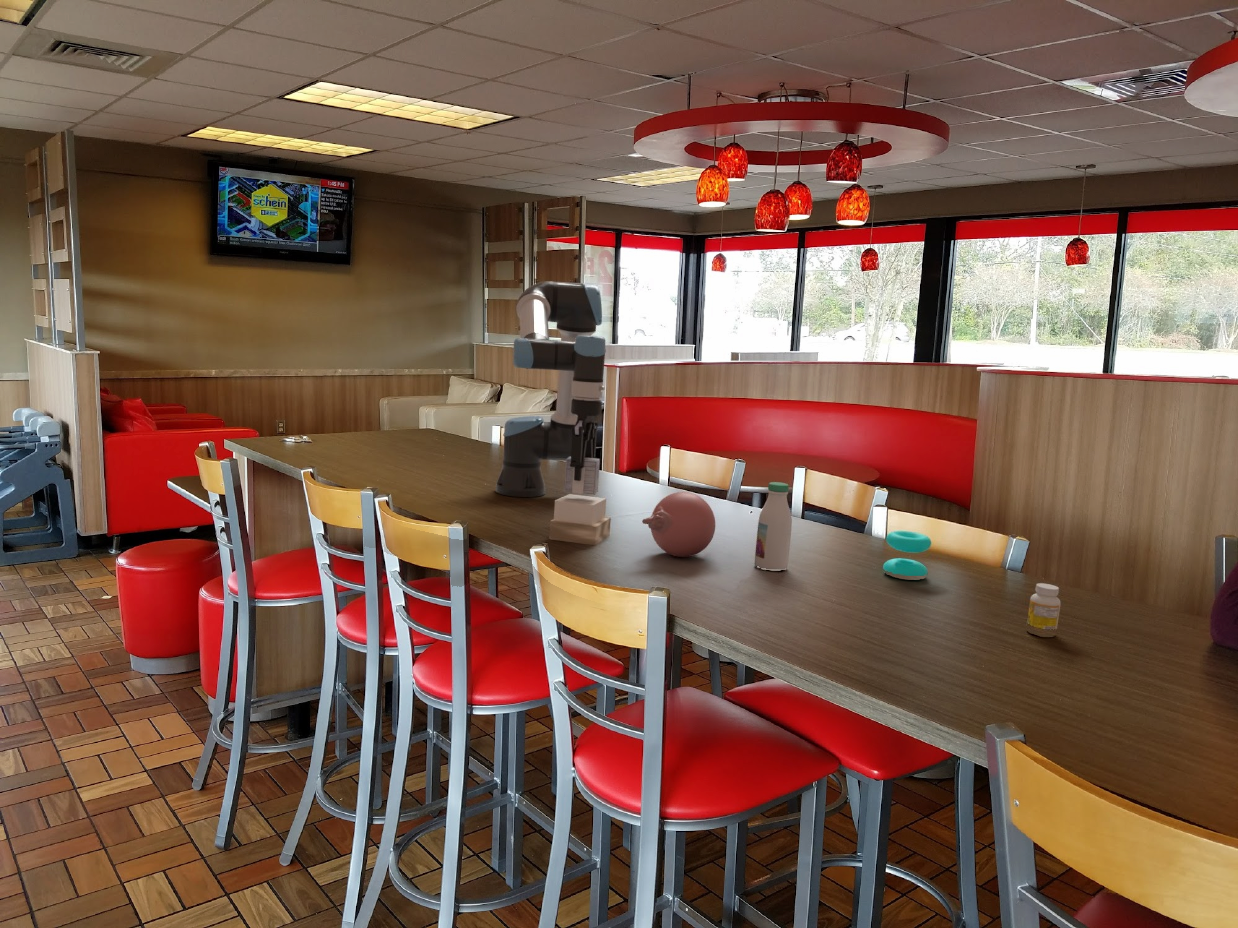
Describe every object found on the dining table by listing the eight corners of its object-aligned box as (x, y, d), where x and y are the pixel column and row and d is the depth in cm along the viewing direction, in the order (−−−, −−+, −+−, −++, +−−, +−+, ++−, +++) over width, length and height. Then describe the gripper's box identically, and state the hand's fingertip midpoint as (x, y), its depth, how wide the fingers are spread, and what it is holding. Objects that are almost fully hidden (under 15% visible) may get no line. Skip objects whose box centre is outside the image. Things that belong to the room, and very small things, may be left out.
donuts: (909, 528, 220) (941, 538, 211) (904, 569, 221) (936, 580, 213) (877, 530, 215) (909, 540, 206) (873, 571, 217) (904, 583, 208)
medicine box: (598, 492, 232) (600, 458, 231) (595, 495, 228) (597, 461, 226) (567, 489, 233) (569, 455, 232) (564, 492, 229) (566, 458, 227)
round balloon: (619, 552, 219) (624, 489, 217) (685, 545, 230) (690, 485, 228) (658, 569, 207) (662, 502, 204) (726, 560, 218) (731, 497, 215)
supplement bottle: (1051, 640, 175) (1058, 592, 173) (1022, 633, 178) (1028, 585, 177) (1059, 634, 179) (1066, 586, 177) (1030, 627, 182) (1037, 580, 181)
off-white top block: (568, 512, 237) (569, 493, 237) (605, 517, 234) (606, 498, 234) (553, 520, 228) (554, 500, 227) (591, 525, 225) (593, 505, 224)
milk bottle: (790, 566, 217) (798, 483, 213) (784, 574, 209) (793, 488, 206) (757, 561, 219) (765, 479, 216) (751, 569, 212) (759, 483, 209)
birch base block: (565, 530, 239) (566, 511, 238) (609, 536, 236) (610, 517, 235) (549, 540, 228) (550, 520, 227) (595, 546, 225) (596, 526, 224)
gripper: (590, 402, 217) (584, 499, 221) (612, 397, 234) (606, 487, 238) (560, 399, 219) (554, 495, 223) (584, 395, 236) (578, 484, 240)
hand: (581, 491), depth 230 cm, fingers closed on medicine box, 5 cm apart
